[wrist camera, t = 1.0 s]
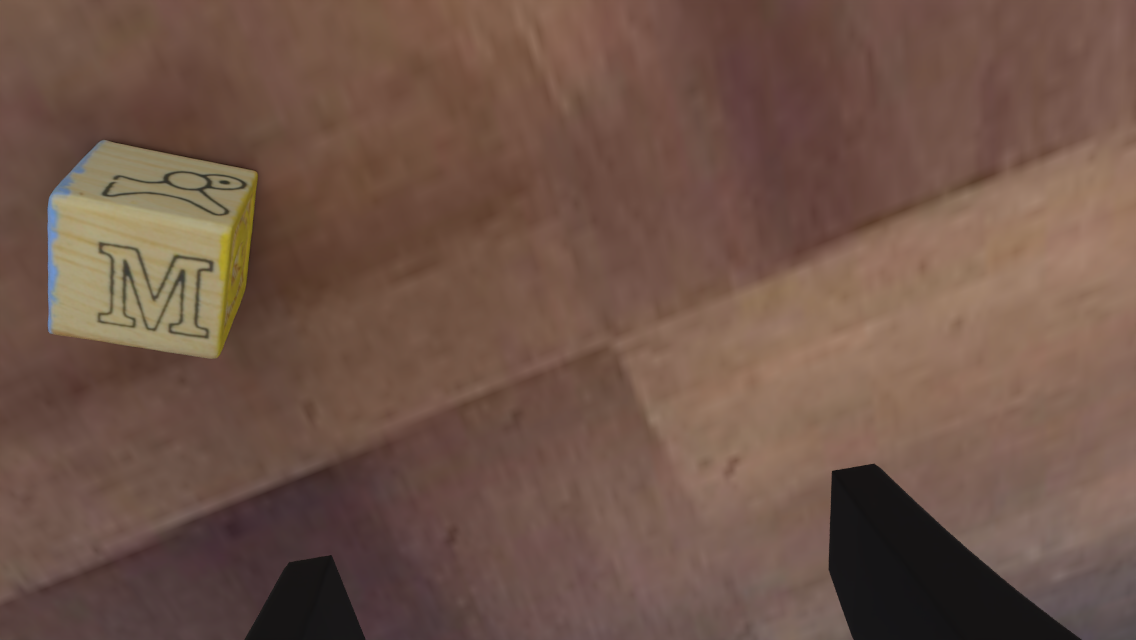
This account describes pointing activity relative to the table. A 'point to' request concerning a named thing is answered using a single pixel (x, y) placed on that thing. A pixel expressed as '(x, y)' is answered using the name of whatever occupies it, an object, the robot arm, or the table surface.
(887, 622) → the robot arm
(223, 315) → the alphabet block
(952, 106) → the table surface
